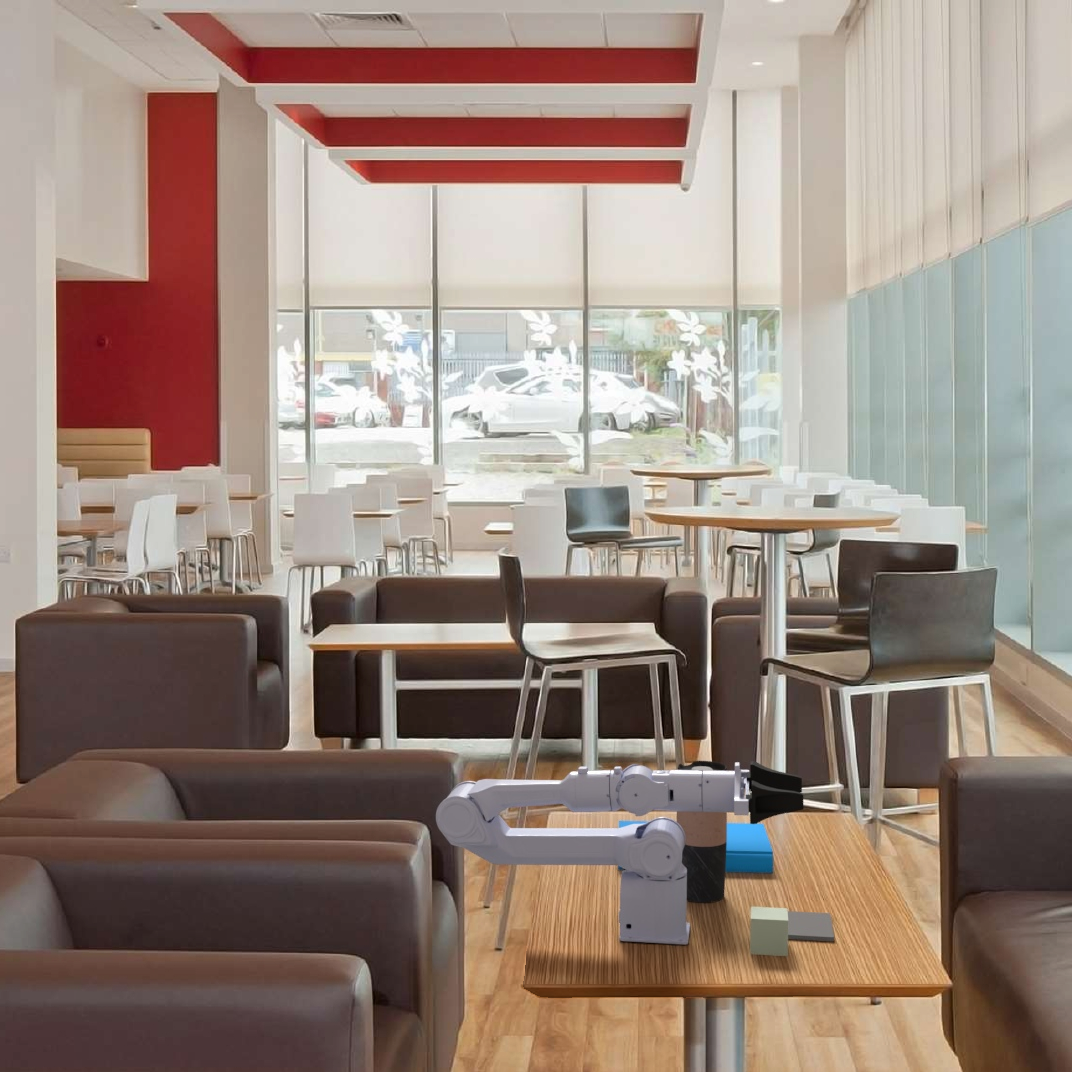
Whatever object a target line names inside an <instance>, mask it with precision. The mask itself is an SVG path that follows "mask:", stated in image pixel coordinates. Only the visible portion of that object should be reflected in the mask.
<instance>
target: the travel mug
mask: <svg viewBox="0 0 1072 1072" xmlns="http://www.w3.org/2000/svg"><path fill="white" fill-rule="evenodd" d="M677 770H717V771H728V768H727V765H725V764H724V763H720V762H716V761H711V760H695V761H692V762H691V763H690V764H687V765H683V764H682V762H681V763H679V764H678V765H677ZM727 815H728V812H687V811H676V822H677V823H678V824H679V825H680V826H681V827H682V829H683V831H684V833H685V846H684V849H683V852H682V864H683V865H684V866H685V867H686V869H687V902H691V903H700V904H703V903H704V904H705V903H714V902H715V903H716V902H719V901H722V899H724V897H725V891H726V890H725V888H726V887H725V886H726V885H725V884H726V872H725V868H726V846H727V842H726V841H727V823H728V822H727V821H728V819H727V818H728V816H727Z"/></svg>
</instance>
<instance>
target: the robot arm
mask: <svg viewBox="0 0 1072 1072" xmlns="http://www.w3.org/2000/svg"><path fill="white" fill-rule="evenodd" d="M749 763H750V766H749V767H750V769H741V767H740V765H741V763H740V762H738V761H737V762H734V770H727V771H717V770H678V769H668V770H663V769H661V770H658V769H652V768H650V767H648V766H645V765H640V764H637V763H632V764H630V765H628V766H626V767H625V768H624V769H623V768H622V766H614V768H613V769H601V770H589V767H588V766H579V767H578V769H577V770H575V771H570V772H568V774H567V775H566V776H565V778H564V779H562V780H556V779H500V778H499V779H498V778H497V779H494V778H485V779H484V778H483V779H478V780H477V781H474V780H465V781H462V782H460V783H458V784H457V785H456V784H455V786H454V787H453V788H452V789H451V791H450V793H449V794H448V795H447V797H446V798H445V799H443V800H442V801H441V802H440V803H439V805H438V806H437V808H436V812H435V822H436V825H437V828H438V830H439V831H440V832H441V834H442V835H443V836H444V837H445V839H446V840H447V841H448V843H449V844H450V845H452V846H455V847H460V848H463V849H464V850H466V851H468V852H470V853H472V854H474V855H476V856H478V857H479V858H480V859H482V860H485V861H486V862H488V863H490V864H492V865H498V866H499V865H501V866H502V865H504V866H505V865H507V866H508V865H511V866H520V865H521V866H522V865H523V866H528V865H529V866H617V867H618V866H620V867H622V868H624V869H625V870H622V872H621V876H620V888H619V889H620V890H619V910H618V923H619V941H621V942H629V943H630V942H633V943H648V944H649V943H650V944H651V943H652V944H653V943H654V944H665V945H666V944H668V945H688V944H689V938H690V937H689V936H690V932H691V931H690V929H691V923H690V922H689V921H688V922H687V913H688V912H687V911H688V910H687V905H688V904H687V902H688V901H687V869H686V867H685V866H684V865H683V864H682V852H683V849H684V846H685V833H684V831H683V829H682V827H681V826H680V825H679V824H678V823H677V820H675V819H673V818H669V817H666V816H659V817H656V818H652V819H651V820H648V821H649V822H647V823H643V824H631V825H628V826H625V827H621V828H619V827H618V828H617V827H614V828H613V827H611V828H610V827H609V828H608V827H607V828H605V827H603V828H602V827H600V828H597V827H596V828H595V827H593V828H591V827H590V828H589V827H588V828H587V827H585V828H582V827H579V828H578V827H577V828H576V827H571V828H570V827H562V828H561V827H560V828H559V827H539V828H538V827H531V828H529V827H510V826H509V825H508V824H507V822H506V821H505V820H504V819H503V818H502V816H501V815H500V813H502V812H503V811H505V810H506V809H509V808H521V807H535V806H536V807H537V806H549V805H560V804H561V805H563V806H564V807H566V808H567V809H568V810H570V812H572V813H591V812H592V813H594V812H595V813H597V812H598V813H599V812H617V811H619V810H621V809H623V810H624V811H625V812H628V813H629V814H633V815H635V817H642V816H646V815H647V814H648V815H649V813H650V812H652V811H669V812H677V811H687V812H727V813H733V814H734V816H749V823H750V824H760V822H762V821H764V820H766V819H769V818H770V819H771V818H773V817H775V816H780V815H783V814H789V813H795V812H798V811H802V810H804V793H802V792H803V781H802V780H803V777H802V776H800V775H796V774H792V773H787V772H784V771H779V770H775V769H772V768H769V767H767V766H764V765H762V764H760V763H759V762H757V761H750V762H749Z"/></svg>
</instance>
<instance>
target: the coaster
mask: <svg viewBox="0 0 1072 1072" xmlns="http://www.w3.org/2000/svg"><path fill="white" fill-rule="evenodd" d="M832 921H833V920H832V916H831V913H830V912H812V911H795V910H794V911H792V910H788V940H796V941H797V940H799V941H800V940H801V941H820V942H835V933H834V928H833V922H832Z"/></svg>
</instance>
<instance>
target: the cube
mask: <svg viewBox="0 0 1072 1072" xmlns="http://www.w3.org/2000/svg"><path fill="white" fill-rule="evenodd" d="M788 911H789V910H788V908H785V907H771V906H770V907H766V906H750V931H749V932H750V933H749V934H750V935H749V938H750V941H749V944H750V945H749V946H750V947H749V949H750V950H749V951H750V955H759V956H761V955H763V956H776V957H777V956H778V957H782V956H783V957H788V956H789V953H788V952H789V951H788V950H789V939H788Z"/></svg>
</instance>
